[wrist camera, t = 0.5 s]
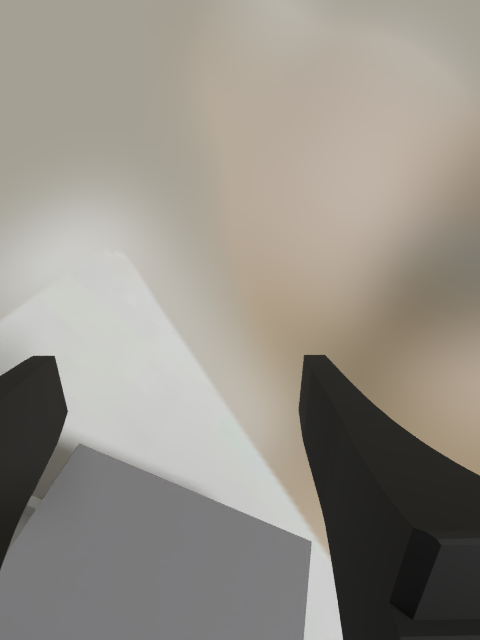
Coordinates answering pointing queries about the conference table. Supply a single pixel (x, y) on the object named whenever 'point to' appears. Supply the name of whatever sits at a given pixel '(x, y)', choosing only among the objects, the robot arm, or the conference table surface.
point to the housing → (148, 564)
